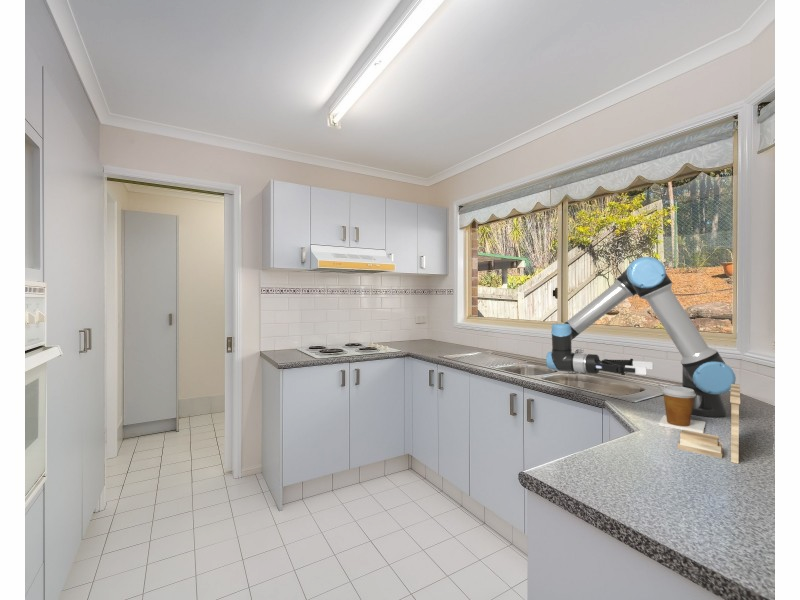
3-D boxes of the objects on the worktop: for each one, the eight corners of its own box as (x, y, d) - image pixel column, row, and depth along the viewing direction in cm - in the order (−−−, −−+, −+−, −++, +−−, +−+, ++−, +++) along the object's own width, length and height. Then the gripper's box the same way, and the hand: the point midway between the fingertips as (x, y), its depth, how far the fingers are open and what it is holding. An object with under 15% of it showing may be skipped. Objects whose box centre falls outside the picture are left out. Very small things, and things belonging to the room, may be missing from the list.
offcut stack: (680, 444, 116) (680, 428, 116) (723, 453, 110) (723, 436, 110) (677, 449, 112) (677, 433, 112) (722, 459, 106) (722, 442, 106)
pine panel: (730, 437, 122) (731, 383, 122) (739, 439, 120) (739, 384, 120) (729, 462, 103) (730, 398, 103) (739, 464, 102) (740, 399, 102)
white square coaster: (664, 417, 142) (664, 414, 142) (705, 424, 134) (705, 421, 134) (659, 425, 133) (659, 422, 133) (703, 433, 125) (703, 430, 125)
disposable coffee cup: (701, 429, 126) (701, 393, 126) (667, 426, 129) (668, 391, 129) (688, 420, 135) (688, 386, 135) (657, 418, 138) (657, 384, 138)
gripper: (595, 368, 163) (655, 373, 149) (577, 377, 144) (643, 384, 130) (595, 350, 163) (654, 354, 149) (577, 357, 144) (643, 362, 130)
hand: (649, 368), depth 140 cm, fingers open, 13 cm apart
